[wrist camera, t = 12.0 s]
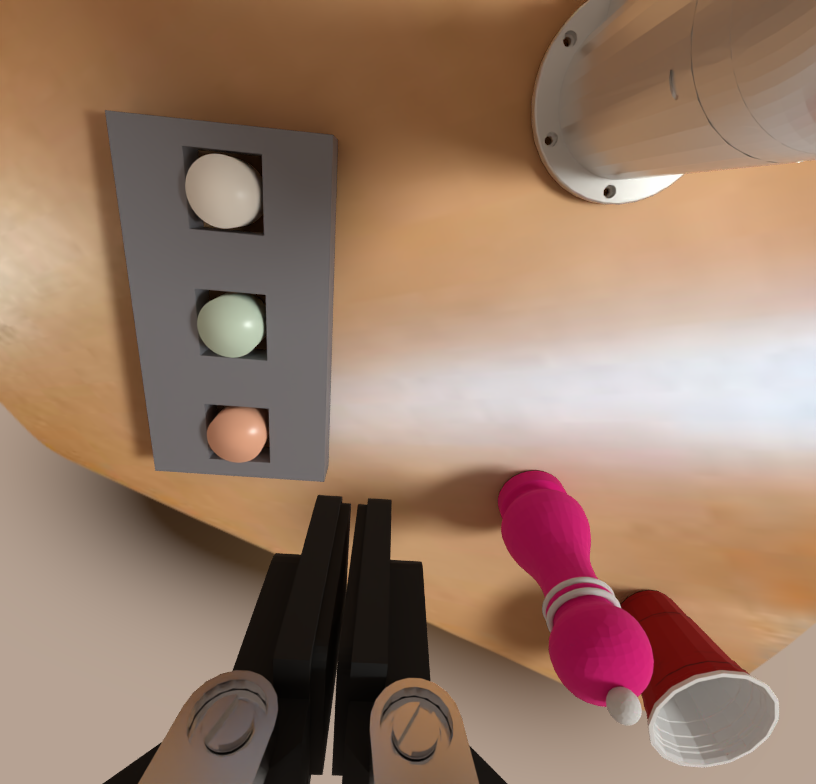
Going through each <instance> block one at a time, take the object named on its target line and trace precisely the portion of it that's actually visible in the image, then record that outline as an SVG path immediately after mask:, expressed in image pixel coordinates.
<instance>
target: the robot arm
mask: <svg viewBox="0 0 816 784" xmlns="http://www.w3.org/2000/svg"><path fill="white" fill-rule="evenodd" d="M563 39H567V40H568V42H569V45H568V47H566V46H565V45H564V43H563ZM531 123H532V129H533V135H534V141H535V144H536V147H537V150H538V153H539V156H540V158H541V160H542V162H543V164H544V165H545V167H546V169H547V170H548V172H549V174H550V175H551V176H552V177H553V178H554V179H555V181H556V182H557V183H558V184H559V185H560V186H561V187H562V188H564V189H565V190H567V191H568V192H570V193H571V194H573V195H574V196H576V197H579V198H581V199H584V200H586V201H589V202H594V203H600V204H625V203H631V202H637V201H639V200H642V199H645V198H648V197H651V196H653V195H655V194H657V193H659V192H660V191H662V190H664V189H666V188H667V187H669V186H671V185H672V184H673V183H674V182H675V181H677V180H678V179H679V178H680V177H682V176H683V175H684V174H688V173H698V172H708V171H718V170H728V169H737V168H747V167H757V166H767V165H777V164H787V163H797V162H803V161H811V160H816V0H588V1H587V2H586V3H584V4H583V5H582V6H581V7H579V8H578V9H577V10H576V11H575V12H574V14H573V15H572V16H571V17H570V18H569V19H568V20H567V21H566V22H565V24H564V25H563V26H562V28H561V29H560V30H559V32H558V33H557V34H556V36H555V37H554V38H553V40H552V42H551V44H550V46H549V48H548V50H547V52H546V53H545V55H544V57H543V59H542V62H541V65H540V68H539V71H538V74H537V77H536V80H535V85H534V91H533V97H532V118H531ZM546 137H549V138H550V141H551V142H550V144H549V145H546V144H545V138H546ZM605 188H606V189H607V190H608V192H607V194H606V195H605V196H604V189H605ZM350 513H351V504H348V503H342V497H340V496H325V495H318V496H317V499H316V503H315V507H314V510H313V514H312V518H311V521H310V525H309V528H308V532H307V536H306V539H305V543H304V547H303V550H302V554H301V555H298V554H280V553H276V554H275V555H274V556H273V559H272V561H271V564H270V566H269V569H268V572H267V575H266V578H265V581H264V584H263V586H262V589H261V592H260V595H259V598H258V600H257V603H256V606H255V609H254V612H253V614H252V617H251V620H250V623H249V626H248V629H247V631H246V635H245V637H244V640H243V643H242V646H241V648H240V651H239V654H238V657H237V660H236V663H235V665H234V668H233V671H232V672H227V673H223V674H220V675H218V676H216V677H214V678H212V679H210V680H208V681H206V682H205V683H204V684H203V685H202V686H201V687H199V688H198V689H197V690H196V691H195V692H194V693H193V694H192V695H191V696H190V698H189V699H188V701H187V702H186V703H185V704H184V706H183V707H182V709H181V711H180V712H179V714H178V716H177V717H176V719H175V721H174V723H173V724H172V726H171V728H170V730H169V732H168V733H167V735H166V737H165V738H164V740H163V742H161V743H160V744H159V745H157V746H156V747H154V748H153V749H151V750H150V751H149V752H147V753H146V754H144V755H143V756H141V757H140V758H139V759H137V760H136V761H134V762H133V763H132V764H130V765H129V766H127V767H126V768H124V769H123V770H122V771H120V772H119V773H117V774H116V775H114V776H113V777H112V778H110V779H109V780H107V781H106V782H105V783H103V784H310V779H311V775H322V774H323V768H324V761H325V753H326V746H327V738H328V731H329V723H330V715H331V708H332V700H333V693H334V685H335V677H336V670H337V681H336V701H335V722H334V743H333V763H332V775H339V776H343V777H342V784H507V783H506V782H505V781H504V780H503V779H502V778H501V777H500V776H499V775H498V774H497V773H496V772H495V771H494V770H493V769H492V768H491V767H490V766H489V765H488V764H487V763H486V762H485V761H484V760H483V759H482V758H481V757H480V756H479V755H478V754H477V753H476V752H475V751H474V750H473V749H472V748H471V747H470V746H469V743H468V739H467V736H466V732H465V728H464V724H463V721H462V717H461V715H460V712H459V710H458V707H457V705H456V703H455V702H454V700H453V699H452V698H451V697H450V695H449V694H448V693H447V692H446V691H445V690H444V689H442V688H441V687H439V686H438V685H437V684H435V683H433V682H430V669H429V654H428V640H427V624H426V609H425V594H424V579H423V566H422V562H418V561H401V560H390V547H391V500H386V499H371V498H368V504H367V505H363V504H358V509H357V517H356V524H355V532H354V539H353V547H352V554H351V562H350V569H349V577H348V584H347V568H348V550H349V531H350ZM346 587H347V592H346ZM337 662H338V664H337Z"/></svg>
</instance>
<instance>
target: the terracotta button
mask: <svg viewBox="0 0 816 784" xmlns="http://www.w3.org/2000/svg"><path fill="white" fill-rule="evenodd" d="M268 437H269V411H268V410H267V409H266V408H254V407H240V406H227V405H226V406H225V407H224V408H223V409H222V410H221V411H220V413H219V414H218V415H217V416H216V417H215V419H214V420H213V421H212V422H211V423H210V425H209V427H208V430H207V440H208V443H209V445H210V447H211V449H212V450H213V451H214V452H215V453H216V454H217V455H218V456H219V457H221V458H223V459H225V460H227V461H230V462H236V463H242V462H247V461H250V460H252V459H254V458H255V457H256V456H257V455H258V454H259V453H260V451H261V450H262V448H263V446H264V444H265V442H266V441H267V439H268Z"/></svg>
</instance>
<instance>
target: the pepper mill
mask: <svg viewBox="0 0 816 784" xmlns="http://www.w3.org/2000/svg"><path fill="white" fill-rule="evenodd" d="M498 507H499V511H500V514H501V517H502V519H503V520H502V524H501V532H502V538H503V540H504V543H505V545H506V547H507V550H508V551H509V553H510V555H511V556H512V557H513V559H514V560H515V561H516V562H517V563H518V565H519V566H520V567H521V568H523V569H524V570H525V571H526V572H527V573H528V574H530V575H531V576H532V577H533V578H534V579H535V580H536V581H537V583H538V584H539V586H540V587H541V589H542V591H543V593H544V596H545V599H544V601H543V605H542V612H543V616H544V618H545V620H546V624H547V627H548V629H549V631H550V632H551V634H550V637H549V654H550V659H551V662H552V664H553V667H554V670H555V672H556V673H557V675H558V677H559V678H560V680H561V682H562V683H563V685H564V686H565V687H566V688H567V689H568V690H569V691H570V692H571V693H573V694H574V695H575V696H576V697H577V698H579V699H581V700H583V701H585V702H587V703H590V704H594V705H597V706H605V707H607V709H608V711H609V713H610V715H611V716H612V717H613V718H614V719H615V720H616V721H617V722H619V723H621V724H624V725H633V724H635V723H636V722H637V721H638V720H639V718H640V717H641V704H640V702H639V699H638V698H637V697H638V696H639V695H640V694H641V693H642V692H643V691H644V690H645V689H646V687H647V686H648V684H649V682H650V680H651V677H652V673H653V664H654V660H653V653H652V648H651V645H650V642H649V640H648V637H647V635H646V633H645V631H644V630H643V628H642V627H641V626H640V624H639V623H638V621H637V620H636V619H635V618H634V617H633V616H631V615H630V614H629V613H628V612H627V611H625V610H623V609H621V606H620V603H619V601H618V600H617V599H616V598H615V595H614V592H613V590H612V589H611V588H610V587H609V586H608V585H607V584H606V583H605V582H603V581H601V580H598V578H597V577H596V575H595V573H594V571H593V569H592V566H591V563H590V547H591V535H590V526H589V523H588V519H587V517H586V515H585V513H584V511H583V509H582V507H581V506H580V505H579V503H578V502H577V501H576V500H575V499H574V498H572V497H571V496H569V495H567V493H566V491H565V489H564V488H563V486H562V484H561V483H560V481H559V480H558V479H557V478H556V477H554V476H553V475H551V474H549V473H546V472H542V471H527V472H523V473H520V474H518V475H516V476H514V477H512V478H511V479H510V480H509V481H507V482H506V483H505V484H504V486H503V488H502V489H501V491H500V493H499V496H498Z"/></svg>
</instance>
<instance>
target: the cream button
mask: <svg viewBox="0 0 816 784" xmlns="http://www.w3.org/2000/svg"><path fill="white" fill-rule="evenodd" d="M185 189H186V195H187V199H188V201H189V204H190V205H191V207H192V209H193V210H194V212H195V213H196V214H197V215H198V216H199V217H200V218H201V219H202V220H203V221H205V222H206V223H208V224H210V225H212V226H214V227H218V228H235V227H241V226H247V225H250V224H252V223H254V222H256V221H257V220H258V219H259V218H260V217H261V216H262V214H263V178H262V177H261V175H260V174H259V172H258V171H257V170H256V169H255V168H254V167H253V166H252V165H250V164H249V163H247V162H245V161H243V160H240V159H237V158H233V157H229V156H226V155H222V154H208V155H204V156H202V157H200V158H199V159H197V160H196V161H195V162H194V163H193V164H192V165H191V167H190V169H189V170H188V173H187V176H186V182H185Z"/></svg>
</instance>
